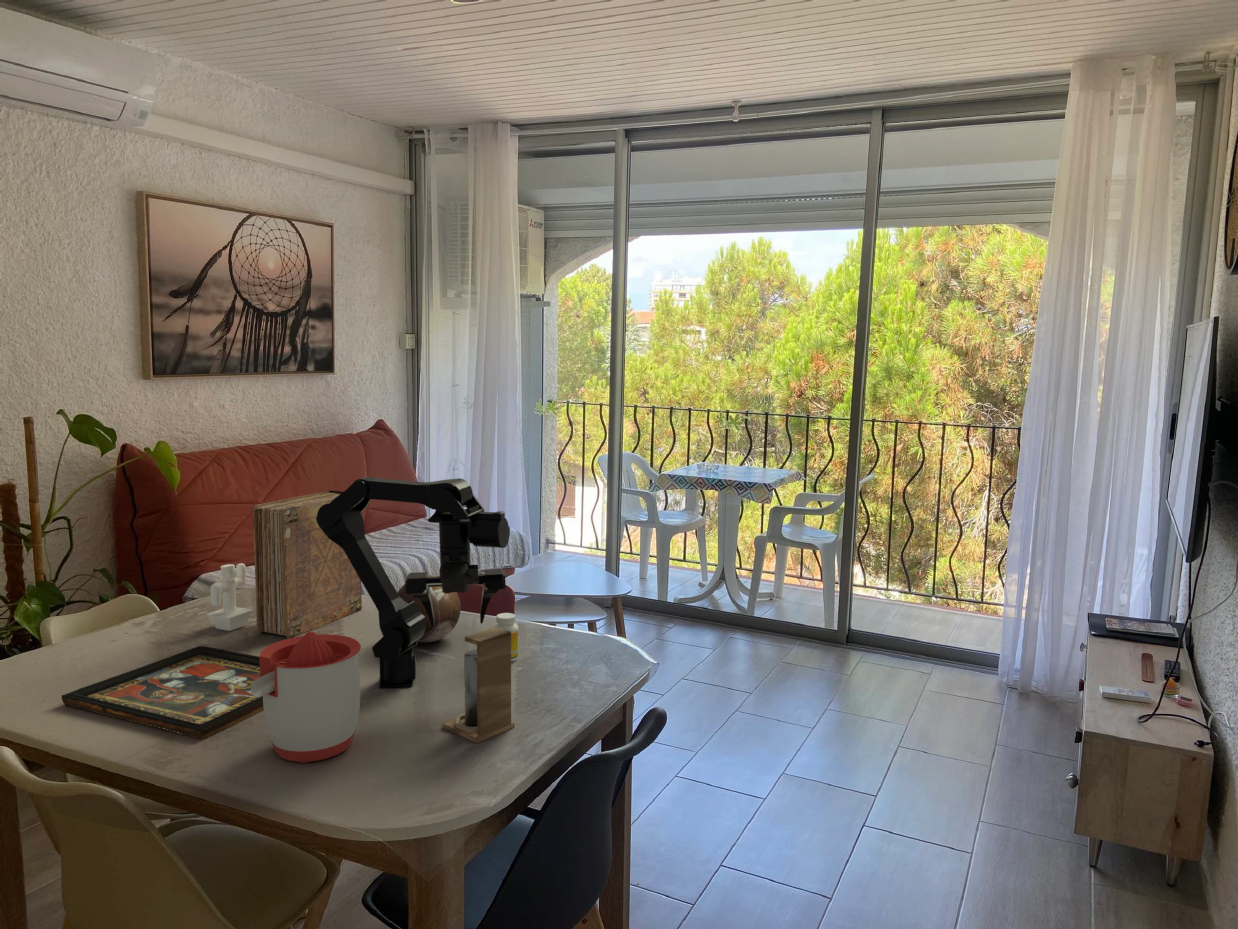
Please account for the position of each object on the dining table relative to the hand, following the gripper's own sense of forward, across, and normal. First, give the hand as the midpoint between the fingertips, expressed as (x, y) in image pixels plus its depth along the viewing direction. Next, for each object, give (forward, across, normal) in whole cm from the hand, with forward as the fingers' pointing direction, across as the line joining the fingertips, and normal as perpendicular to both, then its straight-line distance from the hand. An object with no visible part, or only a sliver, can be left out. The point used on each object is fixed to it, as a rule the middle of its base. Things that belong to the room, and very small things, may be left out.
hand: (457, 624), depth 168 cm
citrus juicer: (+13, -24, -23) cm, 36 cm away
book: (+12, -36, +47) cm, 60 cm away
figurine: (+12, -54, +45) cm, 71 cm away
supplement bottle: (+13, +10, +15) cm, 23 cm away
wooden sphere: (+13, -8, +29) cm, 33 cm away
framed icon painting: (+13, -49, +5) cm, 51 cm away
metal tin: (+12, +3, -18) cm, 22 cm away
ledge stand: (+13, +3, -18) cm, 22 cm away
